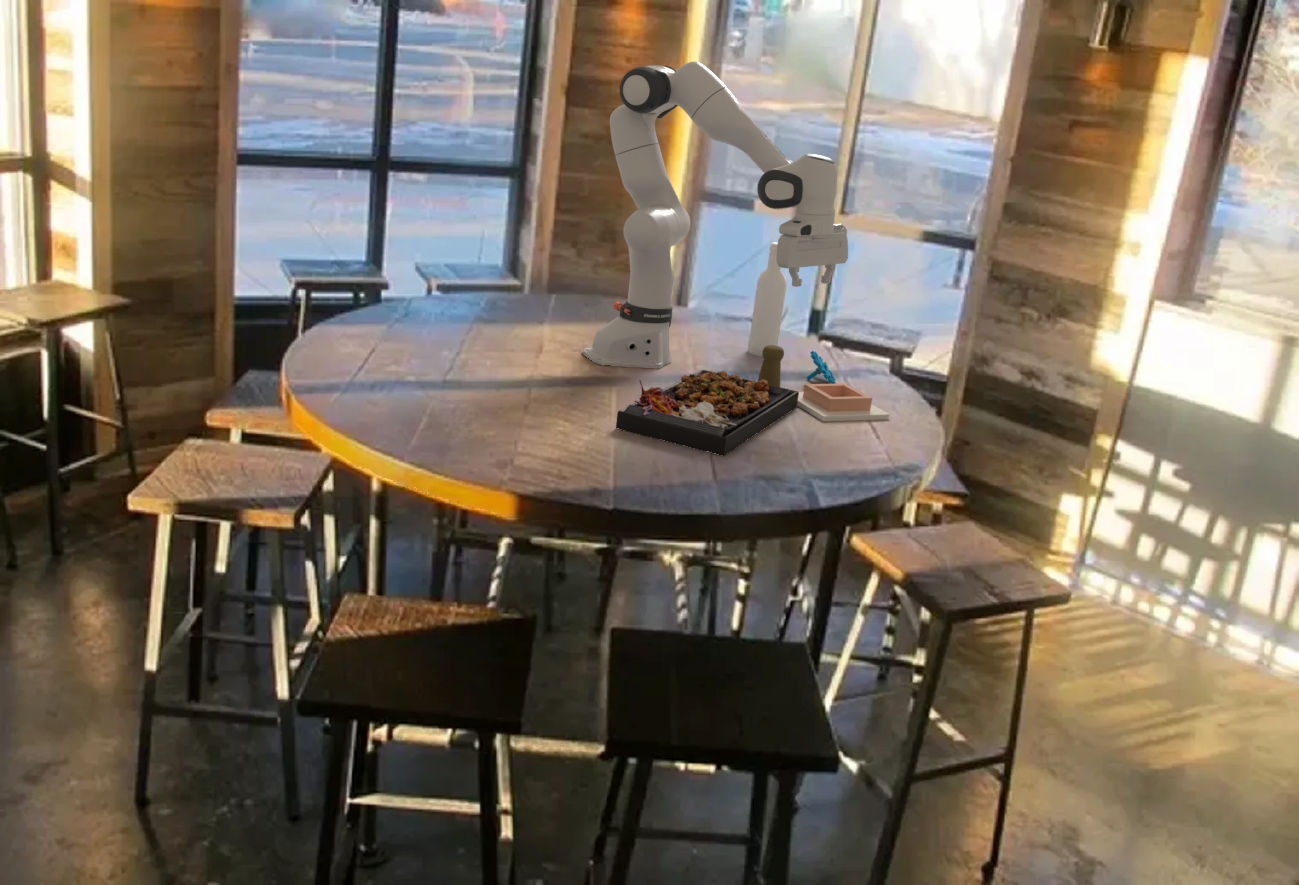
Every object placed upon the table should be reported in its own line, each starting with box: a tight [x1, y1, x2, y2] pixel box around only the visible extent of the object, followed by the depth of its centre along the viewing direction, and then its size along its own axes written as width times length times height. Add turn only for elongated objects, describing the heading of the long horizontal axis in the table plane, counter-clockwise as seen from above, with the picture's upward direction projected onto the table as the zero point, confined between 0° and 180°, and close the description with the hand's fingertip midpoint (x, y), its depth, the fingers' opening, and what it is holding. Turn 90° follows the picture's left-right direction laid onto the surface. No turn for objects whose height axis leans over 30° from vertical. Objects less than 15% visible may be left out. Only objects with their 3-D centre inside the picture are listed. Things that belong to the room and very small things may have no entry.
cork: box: [756, 345, 785, 387], centre depth 296 cm, size 6×6×11 cm
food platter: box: [615, 369, 800, 457], centre depth 270 cm, size 45×25×10 cm, turn 155°
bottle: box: [747, 241, 788, 358], centre depth 327 cm, size 8×8×30 cm
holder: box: [797, 383, 891, 422], centre depth 288 cm, size 18×18×4 cm
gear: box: [806, 350, 837, 384], centre depth 310 cm, size 11×6×10 cm
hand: (811, 284), depth 290 cm, fingers open, 8 cm apart
